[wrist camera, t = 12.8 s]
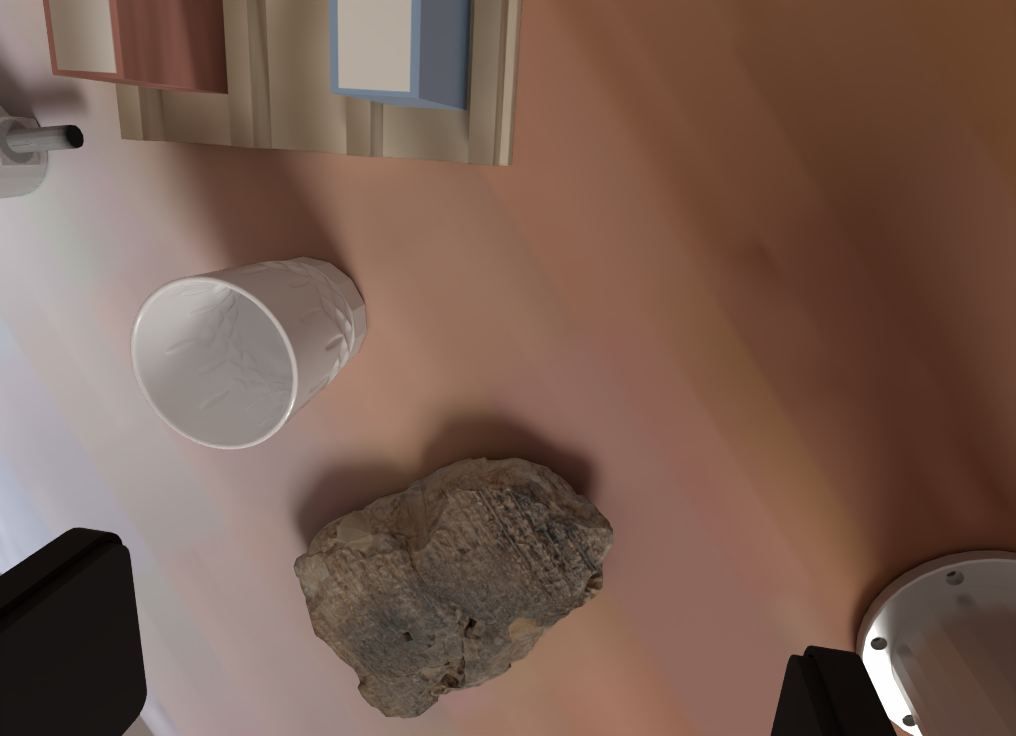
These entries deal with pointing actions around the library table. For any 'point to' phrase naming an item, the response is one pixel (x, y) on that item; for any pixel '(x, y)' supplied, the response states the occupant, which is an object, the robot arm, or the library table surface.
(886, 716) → the robot arm
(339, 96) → the book rack
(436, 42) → the blue book
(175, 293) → the white cup
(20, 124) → the grey machine model
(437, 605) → the clay tablet
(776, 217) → the library table surface
